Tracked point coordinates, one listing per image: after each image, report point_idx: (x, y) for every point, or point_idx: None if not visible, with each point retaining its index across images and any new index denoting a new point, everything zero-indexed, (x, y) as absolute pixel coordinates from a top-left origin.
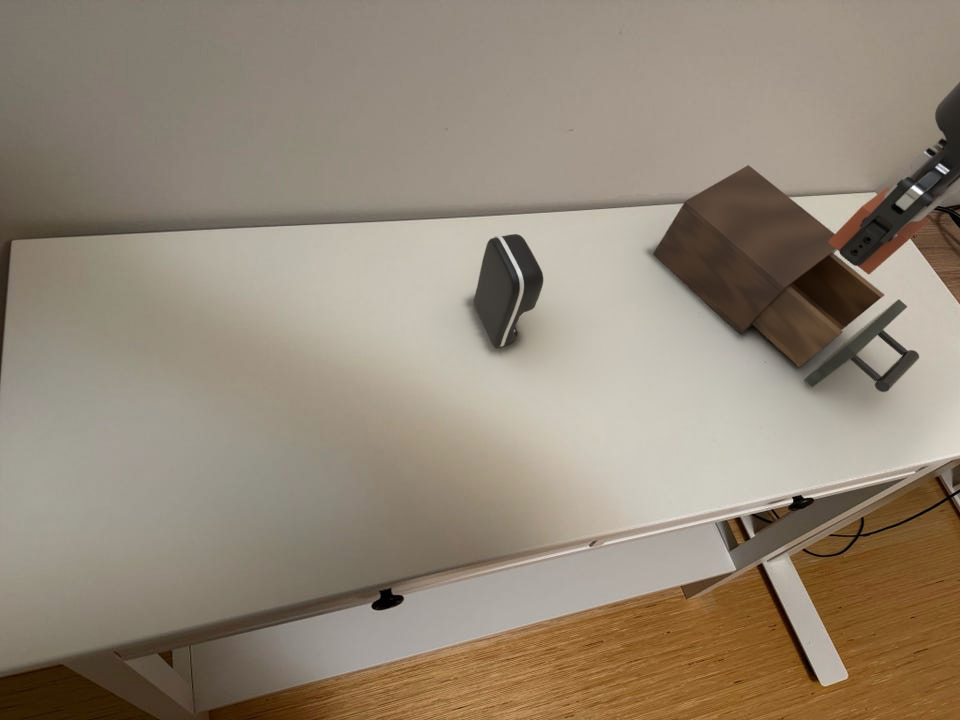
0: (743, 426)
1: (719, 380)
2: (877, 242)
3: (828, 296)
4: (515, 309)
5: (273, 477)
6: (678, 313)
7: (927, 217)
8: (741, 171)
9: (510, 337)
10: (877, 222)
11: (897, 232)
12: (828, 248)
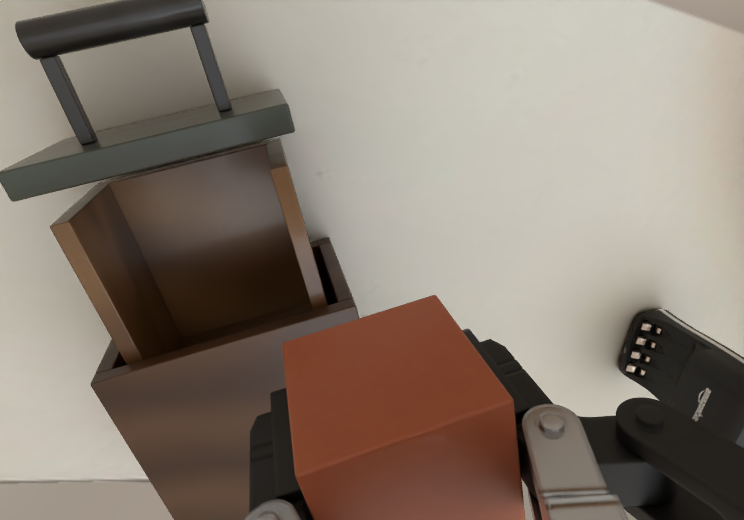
0: (450, 77)
1: (427, 171)
2: (546, 402)
3: (132, 261)
4: (736, 355)
5: None
6: (406, 299)
7: (302, 487)
8: None
9: (662, 317)
10: (673, 489)
11: (586, 440)
12: (158, 374)
